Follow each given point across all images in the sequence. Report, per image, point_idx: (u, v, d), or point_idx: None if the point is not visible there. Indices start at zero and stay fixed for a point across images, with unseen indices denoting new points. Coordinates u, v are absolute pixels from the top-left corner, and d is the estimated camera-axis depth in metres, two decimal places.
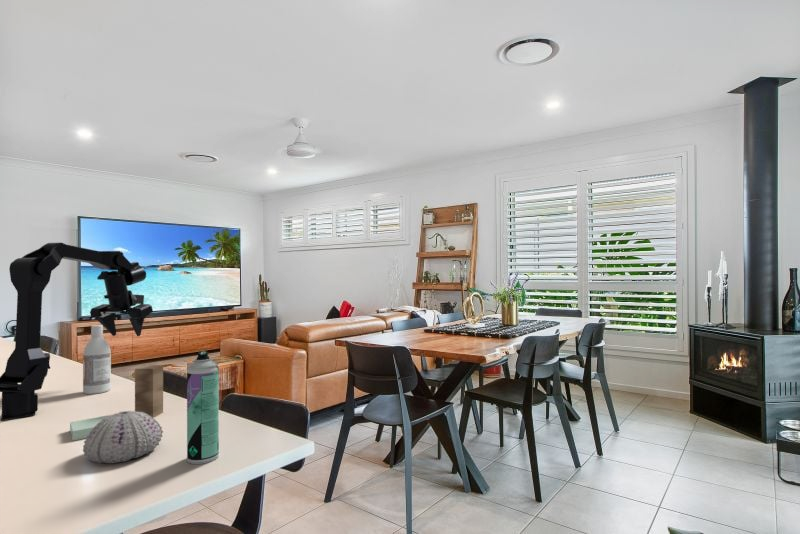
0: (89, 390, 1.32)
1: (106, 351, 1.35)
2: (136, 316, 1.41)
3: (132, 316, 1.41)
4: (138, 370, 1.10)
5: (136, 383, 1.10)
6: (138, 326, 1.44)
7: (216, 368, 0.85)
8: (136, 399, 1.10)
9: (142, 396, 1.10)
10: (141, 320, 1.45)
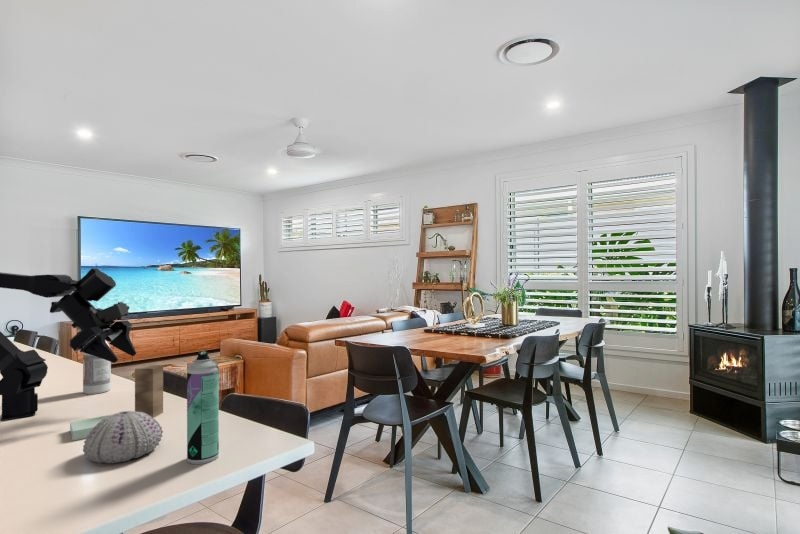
0: (89, 390, 1.32)
1: None
2: None
3: None
4: (138, 370, 1.10)
5: (136, 383, 1.10)
6: (101, 353, 1.09)
7: (216, 368, 0.85)
8: (136, 399, 1.10)
9: (142, 396, 1.10)
10: (101, 345, 1.09)
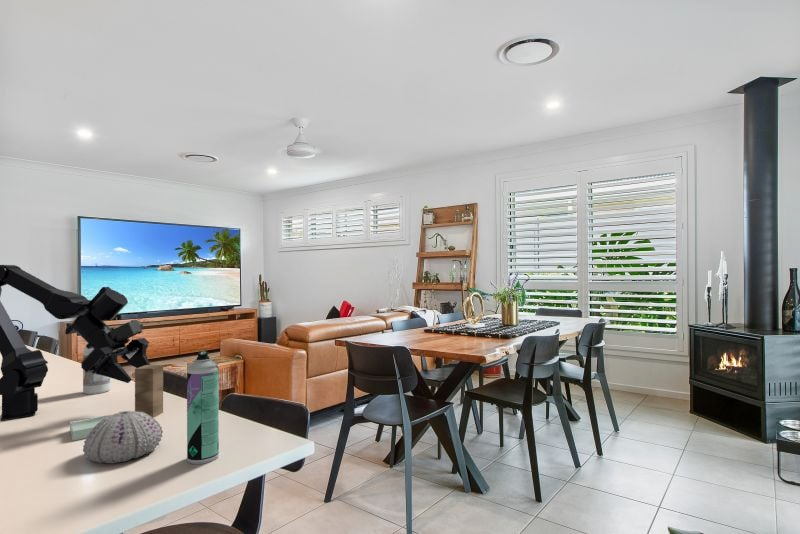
0: (89, 390, 1.32)
1: None
2: None
3: None
4: (138, 370, 1.10)
5: (136, 383, 1.10)
6: (114, 374, 1.06)
7: (216, 368, 0.85)
8: (136, 399, 1.10)
9: (142, 396, 1.10)
10: (113, 365, 1.06)
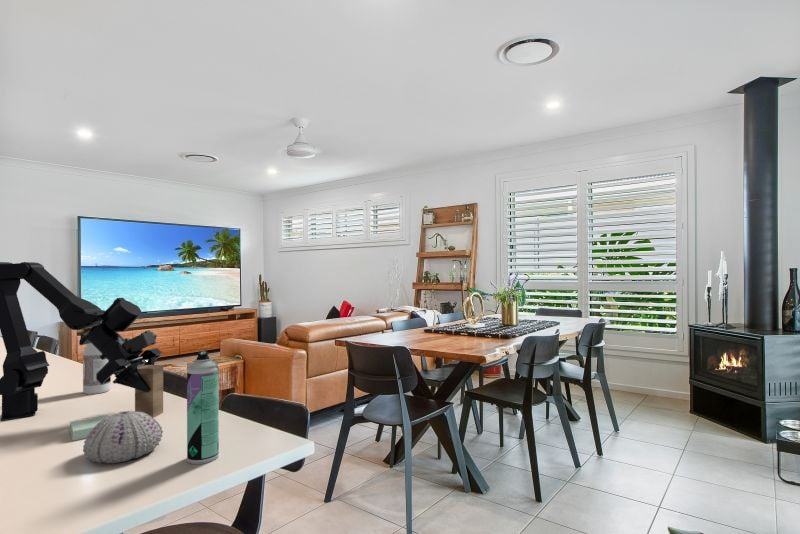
0: (89, 390, 1.32)
1: None
2: None
3: None
4: (138, 370, 1.10)
5: None
6: (134, 384, 1.08)
7: (216, 368, 0.85)
8: (136, 399, 1.10)
9: (142, 395, 1.10)
10: (133, 375, 1.08)
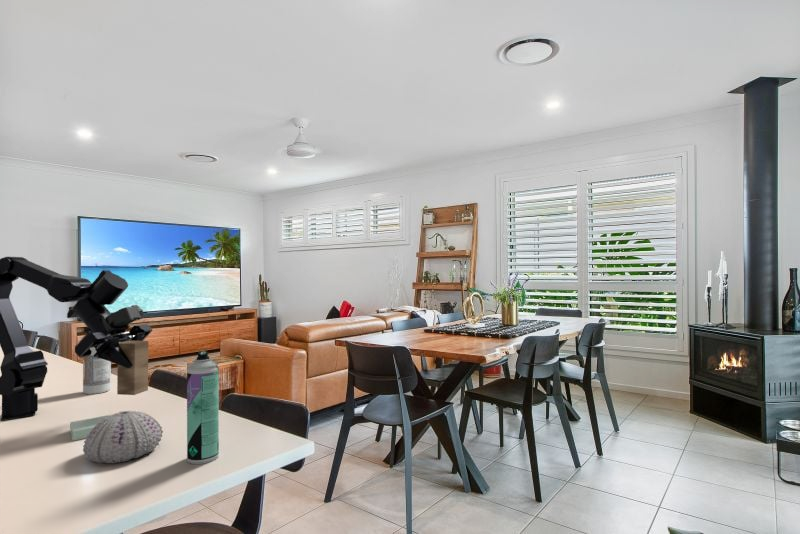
0: (89, 390, 1.32)
1: None
2: None
3: None
4: (121, 345, 1.06)
5: None
6: (115, 358, 1.05)
7: (216, 368, 0.85)
8: (118, 375, 1.06)
9: (125, 371, 1.06)
10: (114, 350, 1.04)
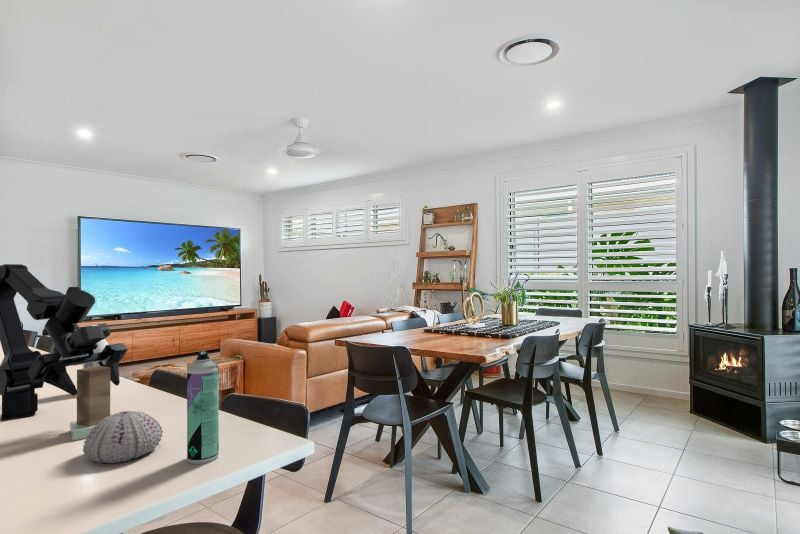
0: None
1: None
2: None
3: None
4: (79, 371, 0.99)
5: (77, 386, 0.99)
6: (61, 384, 0.96)
7: (216, 368, 0.85)
8: (77, 404, 0.99)
9: (82, 400, 0.99)
10: None
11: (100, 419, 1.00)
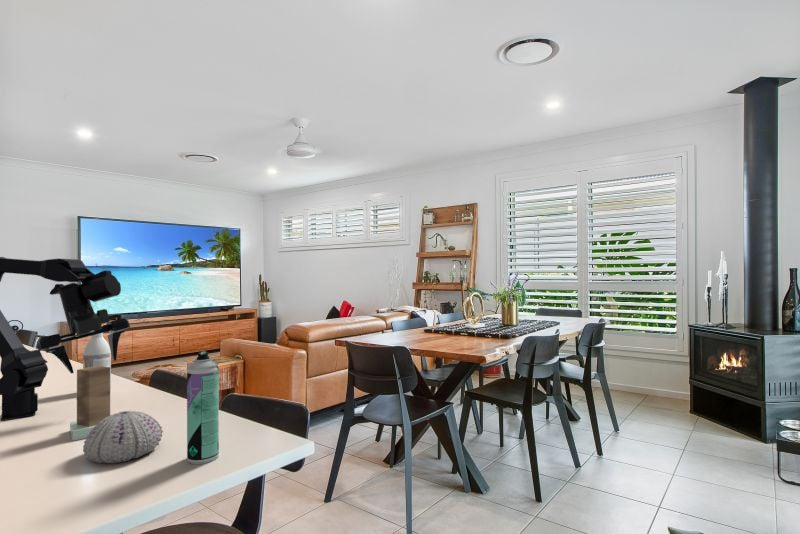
0: None
1: (106, 351, 1.35)
2: None
3: None
4: (79, 371, 0.99)
5: (77, 386, 0.99)
6: (62, 361, 1.09)
7: (216, 368, 0.85)
8: (77, 404, 0.99)
9: (82, 400, 0.99)
10: None
11: (100, 419, 1.00)
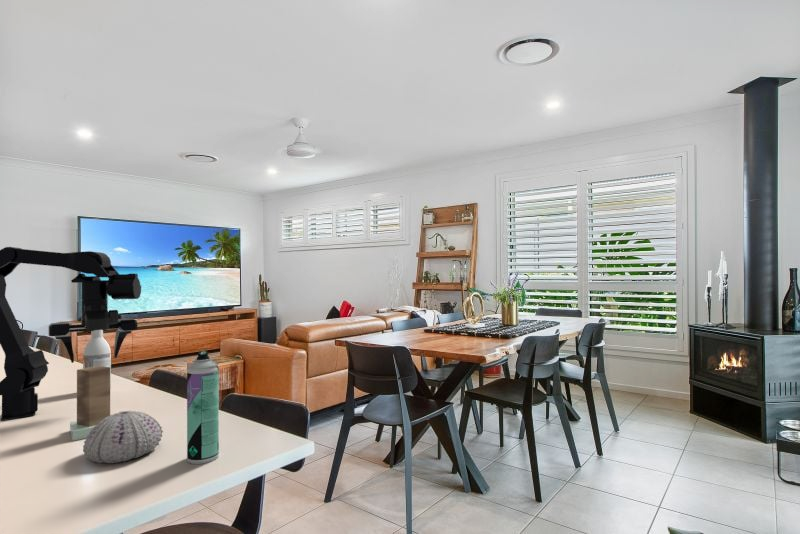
0: None
1: (106, 351, 1.35)
2: None
3: None
4: (79, 371, 0.99)
5: (77, 386, 0.99)
6: None
7: (216, 368, 0.85)
8: (77, 404, 0.99)
9: (82, 400, 0.99)
10: None
11: (100, 419, 1.00)
